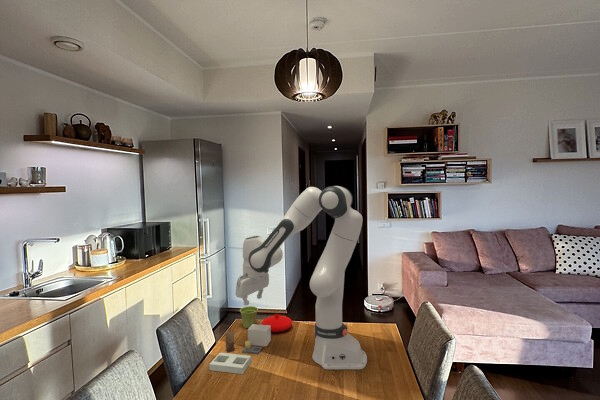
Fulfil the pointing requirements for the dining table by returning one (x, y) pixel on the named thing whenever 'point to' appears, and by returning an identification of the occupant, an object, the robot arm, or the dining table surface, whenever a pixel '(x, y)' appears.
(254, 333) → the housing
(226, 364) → the peg board
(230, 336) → the peg
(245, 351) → the plate
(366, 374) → the dining table surface
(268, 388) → the dining table surface
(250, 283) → the robot arm
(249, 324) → the plant pot
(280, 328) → the red domed lid
